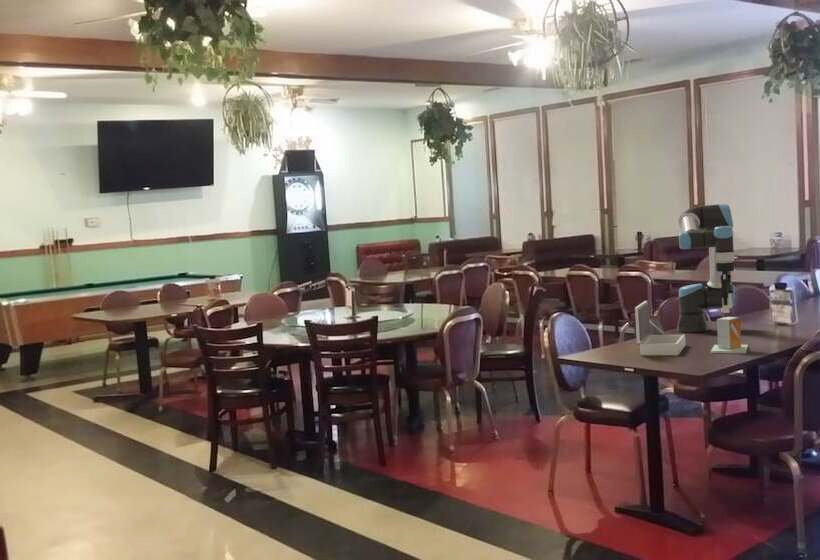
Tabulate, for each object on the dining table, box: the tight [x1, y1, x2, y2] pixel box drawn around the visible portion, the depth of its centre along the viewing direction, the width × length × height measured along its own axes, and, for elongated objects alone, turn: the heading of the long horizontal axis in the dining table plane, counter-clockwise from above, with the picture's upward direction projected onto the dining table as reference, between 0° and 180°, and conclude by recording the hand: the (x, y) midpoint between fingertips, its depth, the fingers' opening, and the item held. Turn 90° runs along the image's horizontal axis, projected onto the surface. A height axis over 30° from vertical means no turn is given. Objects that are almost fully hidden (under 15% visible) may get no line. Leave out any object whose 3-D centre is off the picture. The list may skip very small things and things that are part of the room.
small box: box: [716, 316, 742, 349], centre depth 361 cm, size 8×6×13 cm
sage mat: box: [710, 344, 749, 354], centre depth 361 cm, size 16×14×1 cm
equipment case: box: [634, 300, 686, 356], centre depth 373 cm, size 26×17×21 cm, turn 154°
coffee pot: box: [649, 308, 667, 335], centre depth 396 cm, size 21×12×15 cm, turn 147°
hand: (727, 310), depth 360 cm, fingers open, 13 cm apart
